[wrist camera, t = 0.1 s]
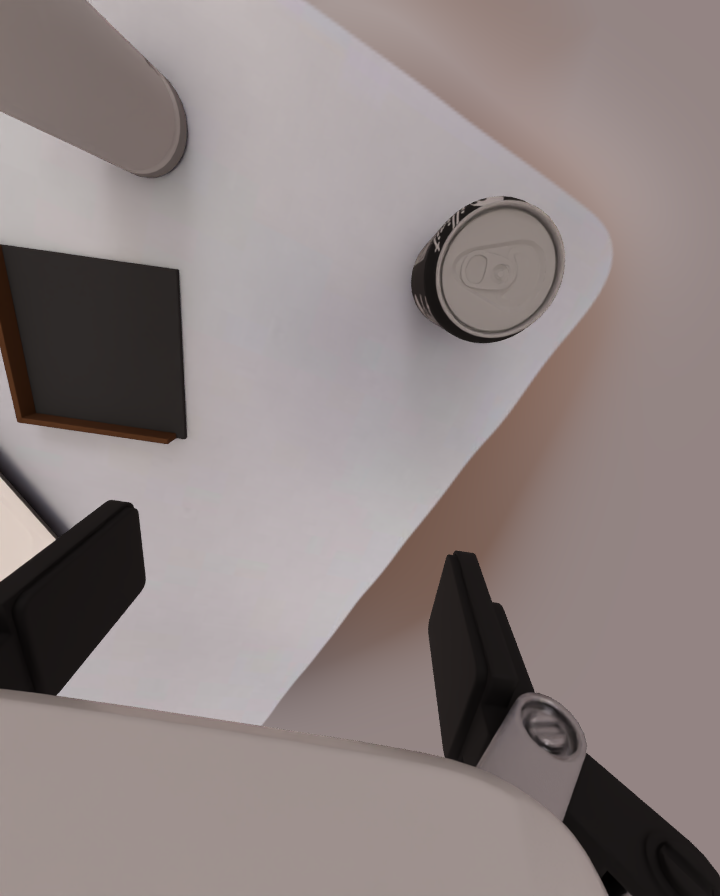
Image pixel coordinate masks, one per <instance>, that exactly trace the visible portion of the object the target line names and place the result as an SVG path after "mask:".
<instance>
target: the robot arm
mask: <svg viewBox="0 0 720 896" xmlns="http://www.w3.org/2000/svg"><path fill="white" fill-rule="evenodd" d="M145 581H146V576H145V567H144V558H143V549H142V540H141V531H140V522H139V513H138V510H137V509H135V508H134V506H133V505H132V504H131V503H129V502H122V501H115V500H109V501H107V502H105V503H104V504H103V505H101V506H100V507H99V508H97V509H96V510H95V511H93V512H92V513H91V514H90V515H88V516H87V517H86V518H84V519H83V520H82V521H80V522H79V523H78V524H76V525H75V526H74V527H72V528H71V529H70V530H68V531H67V532H66V533H64V534H63V535H62V536H60V537H59V538H58V539H56V540H55V541H54V542H52V543H51V544H50V545H48V546H47V547H46V548H44V549H43V550H42V551H40V552H39V553H38V554H36V555H35V556H34V557H33V558H31V559H30V560H29V561H27V562H26V563H25V564H23V565H22V566H21V567H19V568H18V569H17V570H15V571H14V572H13V573H11V574H10V575H9V576H7V577H6V578H5V579H3V580H2V581H1V582H0V896H720V876H719V874H718V873H717V871H716V870H715V869H714V868H713V867H712V865H711V864H710V862H709V861H708V860H707V859H706V857H705V856H704V855H703V854H702V853H701V852H700V851H699V850H698V849H697V848H696V847H695V846H694V845H693V844H692V843H691V842H690V841H689V840H688V839H686V838H685V837H684V836H683V835H682V834H680V833H679V832H678V831H677V830H676V829H675V828H674V827H672V826H671V825H670V824H669V823H668V822H667V821H665V820H664V819H663V818H662V817H661V816H659V815H658V814H657V813H656V812H655V811H654V810H653V809H651V808H650V807H649V806H648V805H647V804H645V803H644V802H643V801H642V800H640V798H638V797H637V796H636V795H635V794H634V793H633V792H632V791H630V790H629V789H628V788H627V787H626V786H625V785H623V784H622V783H621V782H620V781H618V779H616V778H615V777H614V776H613V775H612V774H611V773H609V772H608V771H607V770H606V769H605V768H603V767H602V766H601V765H600V764H599V763H598V762H597V761H595V760H594V759H593V758H592V757H591V756H590V755H588V754H587V753H586V749H587V743H586V739H585V736H584V733H583V731H582V729H581V727H580V725H579V723H578V722H577V720H576V719H575V718H574V717H573V715H572V714H571V713H570V712H569V711H568V710H567V709H566V708H565V707H564V706H563V705H561V704H560V703H559V702H557V701H555V700H554V699H552V698H551V697H549V696H546V695H543V694H540V693H535V692H534V689H533V687H532V684H531V681H530V678H529V676H528V673H527V670H526V668H525V665H524V662H523V660H522V657H521V654H520V651H519V649H518V646H517V643H516V641H515V638H514V636H513V633H512V630H511V627H510V625H509V622H508V620H507V617H506V614H505V611H504V609H503V607H502V606H501V605H500V604H499V603H494V602H492V601H491V598H490V595H489V592H488V589H487V586H486V583H485V581H484V577H483V575H482V572H481V569H480V566H479V563H478V560H477V558H476V555H475V554H474V553H469V552H462V551H455V552H454V553H453V555H447V557H446V561H445V564H444V568H443V572H442V575H441V579H440V583H439V586H438V590H437V594H436V597H435V601H434V605H433V609H432V612H431V616H430V619H429V626H428V634H429V641H430V650H431V657H432V665H433V673H434V681H435V689H436V697H437V705H438V712H439V720H440V727H441V736H442V744H443V751H444V756H445V758H444V757H439V756H435V755H430V754H426V753H422V752H417V751H411V750H406V749H400V748H394V747H388V746H383V745H377V744H372V743H365V742H360V741H354V740H348V739H341V738H335V737H328V736H322V735H316V734H309V733H303V732H296V731H290V730H284V729H277V728H271V727H264V726H258V725H251V724H245V723H238V722H231V721H225V720H218V719H212V718H205V717H198V716H192V715H185V714H178V713H171V712H165V711H158V710H151V709H145V708H138V707H131V706H124V705H117V704H110V703H103V702H96V701H89V700H82V699H75V698H68V697H61V696H56V695H57V694H58V693H59V692H60V691H61V690H62V688H63V687H64V686H65V685H66V683H67V682H68V681H69V680H70V678H71V677H72V676H73V675H74V674H75V672H76V671H77V670H78V669H79V667H80V666H81V665H82V664H83V662H84V661H85V660H86V659H87V658H88V656H89V655H90V654H91V653H92V651H93V650H94V649H95V648H96V647H97V645H98V644H99V643H100V642H101V640H102V639H103V638H104V637H105V635H106V634H107V633H108V632H109V631H110V629H111V628H112V627H113V626H114V624H115V623H116V622H117V621H118V619H119V618H120V617H121V616H122V615H123V613H124V612H125V611H126V610H127V608H128V607H129V606H130V605H131V603H132V602H133V601H134V600H135V599H136V597H137V596H138V595H139V594H140V592H141V591H142V589H143V587H144V585H145Z"/></svg>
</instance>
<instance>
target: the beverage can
mask: <svg viewBox="0 0 720 896" xmlns="http://www.w3.org/2000/svg"><path fill="white" fill-rule="evenodd" d="M564 267H565V250H564V246H563V241H562V238H561V235H560V233H559V231H558V229H557V227H556V225H555V224H554V222H553V221H552V220H551V218H550V217H549V216H548V215H547V214H545V213H544V212H543V211H542V210H541V209H539V208H537V207H536V206H534V205H531V204H529V203H527V202H525V201H523V200H520V199H517V198H513V197H505V196H498V197H489V198H485V199H481V200H478V201H475V202H473V203H471V204H469V205H467V206H465V207H464V208H462V209H461V210H459V211H458V212H457V213H455V214H454V215H453V216H452V217H451V218H450V219H449V220H448V221H447V222H446V223H445V224H444V225H443V226H442V227H441V229H440V230H439V231H438V232H437V233H436V234H435V235H434V237H433V238H432V239H431V240H430V241H429V242H428V243H427V244H426V246H425V247H424V248H423V249H422V251H421V252H420V254H419V255H418V257H417V259H416V262H415V264H414V267H413V271H412V278H411V287H412V294H413V297H414V300H415V303H416V305H417V307H418V308H419V310H420V311H421V313H422V314H423V315H424V316H425V317H426V318H427V319H429V320H430V321H432V322H433V323H435V324H436V325H438V326H440V327H441V328H443V329H444V330H446V331H448V332H449V333H451V334H452V335H454V336H456V337H458V338H460V339H462V340H466V341H469V342H474V343H492V342H497V341H501V340H504V339H507V338H510V337H512V336H514V335H516V334H518V333H519V332H521V331H522V330H524V329H525V328H527V327H528V326H530V325H531V324H532V323H534V322H535V321H536V320H537V319H538V318H540V317H541V315H542V314H543V313H544V312H545V311H546V310H547V309H548V307H549V306H550V304H551V303H552V301H553V300H554V298H555V296H556V294H557V292H558V290H559V288H560V285H561V282H562V278H563V274H564Z"/></svg>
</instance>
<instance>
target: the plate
mask: <svg viewBox="0 0 720 896" xmlns="http://www.w3.org/2000/svg"><path fill="white" fill-rule="evenodd" d="M56 539H58V537H57V536H56V534H55V533H54V532H53V531H52V530H51V529H50V528H49V527H48V525H47V524H46V523H45V522H44V521H43V520H42V519H41V517H40V516H39V515H38V514H37V513H36V512H35V511H34V510H33V508H32V507H31V506H30V505H29V504H28V503H27V502H26V501H25V499H24V498H23V497H22V496H21V495H20V494H19V493H18V492H17V490H16V489H15V488H14V487H13V486H12V485H11V484H10V482H9V481H8V480H7V479H6V478H5V477H4V476H3V475H2V473H1V472H0V582H1V581H2V580H3V579H5V578H6V577H7V576H9V575H10V574H11V573H13V572H14V571H15V570H17V569H18V568H19V567H21V566H22V565H23V564H25V563H26V562H27V561H29V560H30V559H31V558H33V557H34V556H35V555H36V554H38V553H39V552H40V551H42V550H43V549H44V548H46V547H47V546H48V545H50V544H51V543H52V542H54V541H55V540H56Z"/></svg>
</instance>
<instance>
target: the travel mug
mask: <svg viewBox="0 0 720 896" xmlns="http://www.w3.org/2000/svg"><path fill="white" fill-rule="evenodd" d="M0 111H1V112H3V113H5V114H7V115H9V116H12V117H14V118H16V119H18V120H20V121H22V122H24V123H27V124H29V125H31V126H33V127H35V128H37V129H39V130H41V131H44V132H46V133H48V134H50V135H52V136H54V137H56V138H58V139H61V140H63V141H65V142H67V143H69V144H71V145H73V146H75V147H78V148H80V149H82V150H84V151H86V152H88V153H90V154H92V155H95V156H97V157H99V158H101V159H103V160H105V161H107V162H109V163H112V164H114V165H116V166H118V167H120V168H122V169H124V170H126V171H129V172H131V173H133V174H136V175H138V176H141V177H147V178H153V177H159V176H162V175H165V174H166V173H168V172H169V171H171V170H172V169H173V168H174V167H175V166H176V165H177V164H178V162H179V160H180V159H181V157H182V155H183V152H184V149H185V146H186V139H187V123H186V117H185V112H184V109H183V106H182V103H181V100H180V98H179V96H178V94H177V92H176V91H175V89H174V88H173V86H172V85H171V84H170V82H169V81H168V80H167V79H166V78H165V77H164V76H163V75H162V74H161V73H160V72H159V71H158V70H157V69H156V68H155V67H154V66H153V65H152V64H151V63H150V62H149V61H148V60H147V59H146V58H145V57H144V56H143V55H142V54H141V53H140V52H139V51H138V50H137V49H136V48H135V47H134V46H133V45H131V44H130V43H129V42H128V41H127V40H126V39H125V38H124V37H123V36H122V35H121V34H120V33H119V32H118V31H117V30H116V29H115V28H114V27H113V26H112V25H111V24H110V23H109V22H108V21H107V20H106V19H105V18H104V17H103V16H102V15H101V14H100V13H99V12H98V11H97V10H96V9H95V8H94V7H93V6H92V5H90V4H89V3H88V2H87V1H86V0H0Z"/></svg>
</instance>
